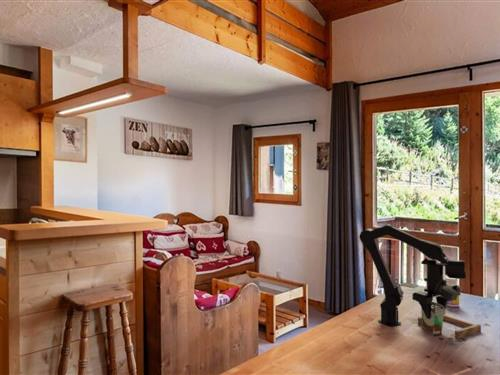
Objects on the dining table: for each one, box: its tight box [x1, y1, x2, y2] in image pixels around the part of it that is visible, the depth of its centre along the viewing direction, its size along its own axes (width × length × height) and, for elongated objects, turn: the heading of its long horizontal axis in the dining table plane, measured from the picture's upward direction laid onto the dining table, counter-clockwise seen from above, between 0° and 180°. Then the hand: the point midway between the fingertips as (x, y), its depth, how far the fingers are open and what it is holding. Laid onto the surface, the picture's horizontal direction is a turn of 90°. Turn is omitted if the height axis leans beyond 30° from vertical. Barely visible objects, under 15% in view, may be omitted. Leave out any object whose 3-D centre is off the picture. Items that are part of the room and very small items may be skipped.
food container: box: [420, 301, 447, 337], centre depth 142 cm, size 12×6×10 cm, turn 179°
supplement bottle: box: [444, 276, 460, 308], centre depth 173 cm, size 7×7×13 cm
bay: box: [417, 314, 482, 339], centre depth 146 cm, size 14×17×2 cm
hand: (435, 316), depth 142 cm, fingers closed on food container, 7 cm apart
